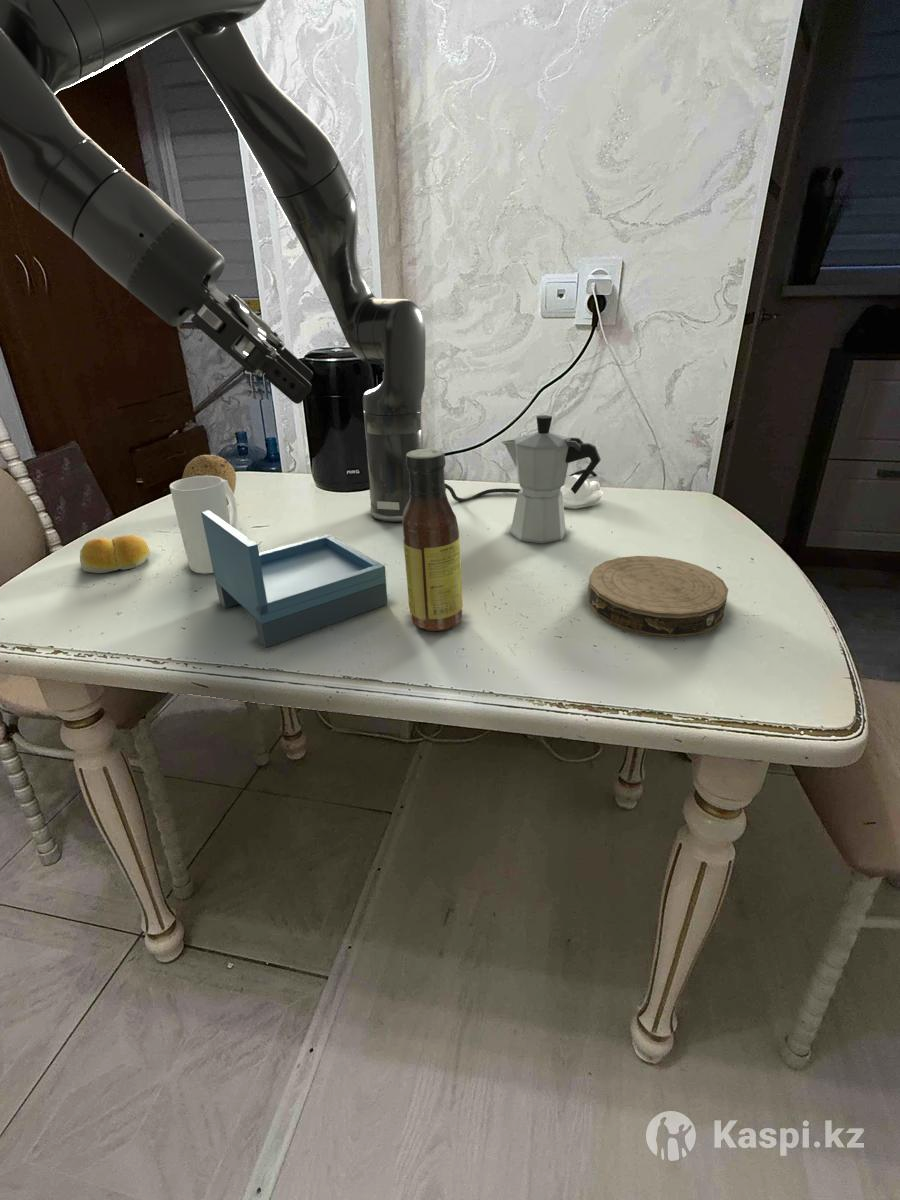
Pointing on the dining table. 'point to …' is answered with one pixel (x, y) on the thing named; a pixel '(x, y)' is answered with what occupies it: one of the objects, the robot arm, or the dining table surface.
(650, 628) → the wood log slice
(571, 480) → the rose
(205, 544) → the mug
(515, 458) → the coffee maker
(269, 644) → the shelf
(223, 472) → the natural sponge
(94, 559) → the bread roll
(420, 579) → the sauce bottle
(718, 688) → the dining table surface
